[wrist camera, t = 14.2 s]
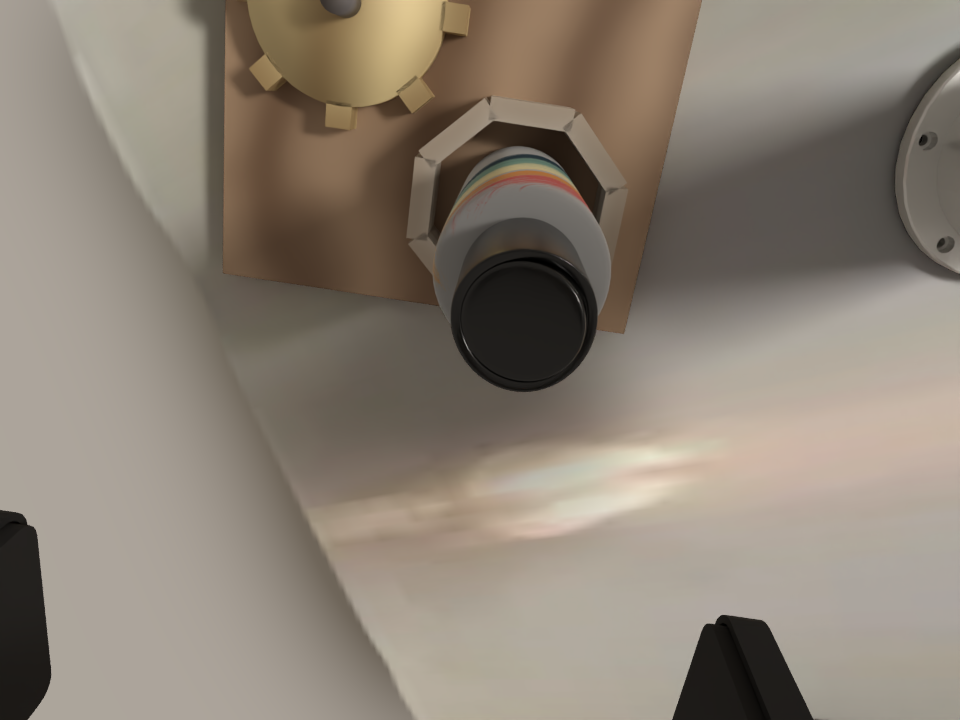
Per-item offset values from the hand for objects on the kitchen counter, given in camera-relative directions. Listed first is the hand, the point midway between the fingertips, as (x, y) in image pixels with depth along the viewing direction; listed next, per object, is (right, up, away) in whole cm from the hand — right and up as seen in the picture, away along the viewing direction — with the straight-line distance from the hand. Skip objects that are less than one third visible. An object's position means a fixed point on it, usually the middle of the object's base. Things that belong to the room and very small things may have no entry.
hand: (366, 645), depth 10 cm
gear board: (0, +17, +26) cm, 31 cm away
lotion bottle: (+4, +12, +26) cm, 29 cm away
